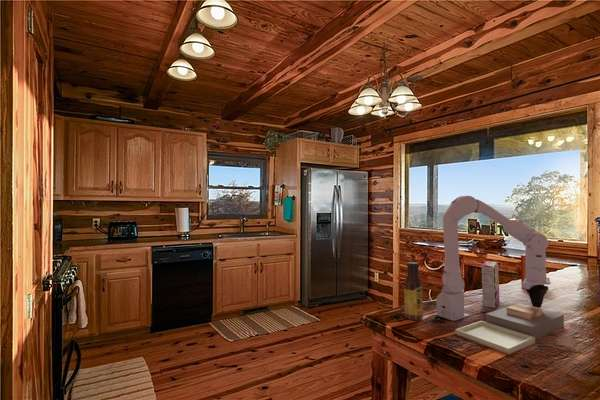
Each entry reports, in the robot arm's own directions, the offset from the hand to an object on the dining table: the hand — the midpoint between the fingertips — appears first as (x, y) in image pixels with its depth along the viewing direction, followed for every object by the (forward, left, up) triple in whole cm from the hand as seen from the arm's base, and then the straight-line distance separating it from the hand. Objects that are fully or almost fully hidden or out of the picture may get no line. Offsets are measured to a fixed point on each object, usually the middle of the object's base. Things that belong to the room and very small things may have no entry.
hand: (536, 306), depth 111 cm
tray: (-26, 0, -5) cm, 27 cm away
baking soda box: (+46, +22, -5) cm, 51 cm away
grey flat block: (-8, 0, -5) cm, 10 cm away
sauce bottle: (-32, +25, -5) cm, 41 cm away
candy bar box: (+6, +19, -5) cm, 21 cm away
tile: (-8, 0, -1) cm, 8 cm away
